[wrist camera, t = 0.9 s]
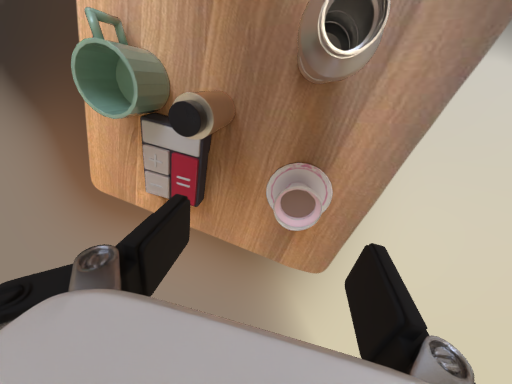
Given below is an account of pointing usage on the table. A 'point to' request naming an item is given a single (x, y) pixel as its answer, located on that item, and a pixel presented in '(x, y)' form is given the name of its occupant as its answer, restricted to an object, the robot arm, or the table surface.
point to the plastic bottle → (339, 37)
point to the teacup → (299, 195)
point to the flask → (201, 113)
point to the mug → (117, 72)
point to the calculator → (173, 160)
